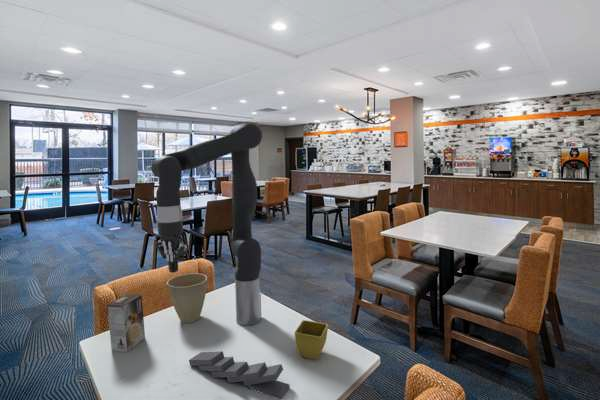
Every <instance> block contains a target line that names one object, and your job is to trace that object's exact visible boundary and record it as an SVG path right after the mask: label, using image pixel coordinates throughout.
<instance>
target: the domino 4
mask: <svg viewBox="0 0 600 400" xmlns="http://www.w3.org/2000/svg"><path fill="white" fill-rule="evenodd" d="M248 366H249V367H248V368H247V369H246V370H245V371H244V372H242V373H241V374H240V375H239V376H238V377H226V378H227V381H228V384H232V383H237V382H244V380H250V379H256V378H260V376H261V375H262V374H263V372H264V371H265V370H266V368H267V367H268V366H267V363H266V362H260V363H256V364H255V363H253V364H248Z"/></svg>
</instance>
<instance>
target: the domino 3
mask: <svg viewBox="0 0 600 400" xmlns="http://www.w3.org/2000/svg"><path fill="white" fill-rule="evenodd" d="M248 365H249V363H248V361H234V363H233V364H231V365H230V366H229V367H227V368H226V369H225V370H223V371H210V373H211V374H210V375H211V377H212V379H214V378H227V377H238V376H239V375H240V374H241V373H242V372H244V371H245V370H246V369H247V368H248V367H249V366H248Z"/></svg>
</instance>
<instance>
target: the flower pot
mask: <svg viewBox="0 0 600 400" xmlns="http://www.w3.org/2000/svg"><path fill="white" fill-rule="evenodd" d="M328 331H329V324H328V323H323V322H317V321H311V320H304V319H303V320H301V323H300V324H299V326H297V328H296V329H295V331H294V338H295V345H296V346H295V347H296V349H297V351H298V353H299V355H300V356H301V357H303V358H306V359H310V360H316V361H317V360H318V359H319V357H320V355H321V354H322V351H323V349H324V348H325V345H326V342H327V338H328V337H327V336H328Z"/></svg>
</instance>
